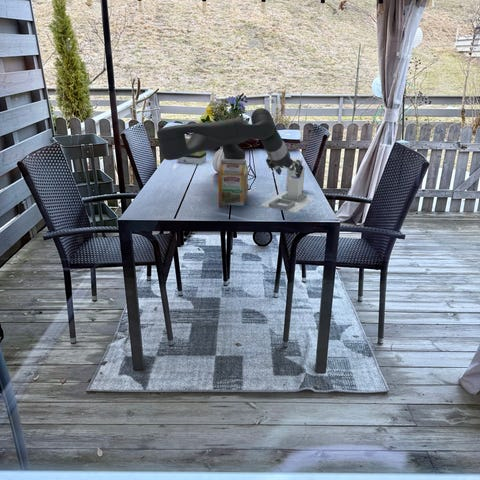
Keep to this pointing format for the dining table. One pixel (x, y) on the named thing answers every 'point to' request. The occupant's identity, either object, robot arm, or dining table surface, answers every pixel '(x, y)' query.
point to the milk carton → (233, 182)
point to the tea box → (193, 156)
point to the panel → (288, 202)
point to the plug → (295, 186)
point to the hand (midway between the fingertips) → (289, 174)
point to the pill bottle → (294, 173)
